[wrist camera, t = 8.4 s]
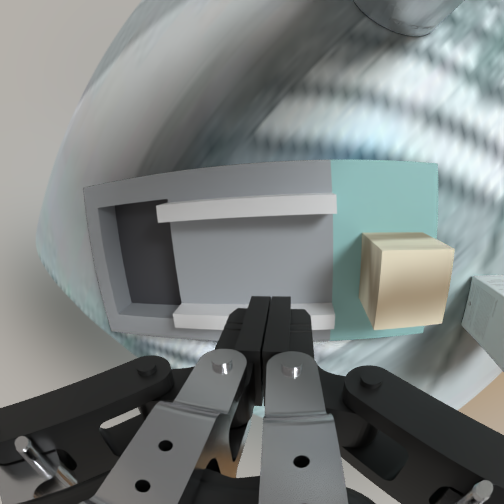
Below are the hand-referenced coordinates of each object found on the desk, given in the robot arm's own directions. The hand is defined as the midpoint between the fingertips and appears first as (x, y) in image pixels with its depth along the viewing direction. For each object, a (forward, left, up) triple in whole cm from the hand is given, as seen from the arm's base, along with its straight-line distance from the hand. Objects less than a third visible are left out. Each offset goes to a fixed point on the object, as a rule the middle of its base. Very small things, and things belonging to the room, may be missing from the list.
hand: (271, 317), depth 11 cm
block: (+1, +8, -10) cm, 13 cm away
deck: (+1, -2, -13) cm, 13 cm away
